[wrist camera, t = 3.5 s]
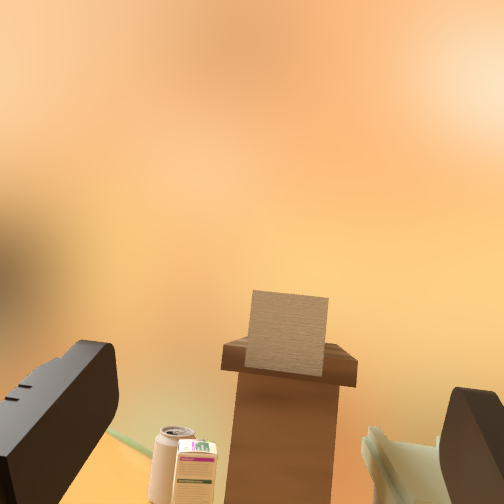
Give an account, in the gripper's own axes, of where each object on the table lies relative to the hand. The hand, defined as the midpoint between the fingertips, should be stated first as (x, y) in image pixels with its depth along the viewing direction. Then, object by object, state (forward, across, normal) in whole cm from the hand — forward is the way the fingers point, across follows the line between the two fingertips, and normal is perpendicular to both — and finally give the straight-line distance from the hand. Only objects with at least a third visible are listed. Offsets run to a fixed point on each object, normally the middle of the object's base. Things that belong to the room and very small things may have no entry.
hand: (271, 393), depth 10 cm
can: (+42, +20, +61) cm, 77 cm away
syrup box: (+30, +13, +54) cm, 63 cm away
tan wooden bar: (+16, 0, +9) cm, 18 cm away
